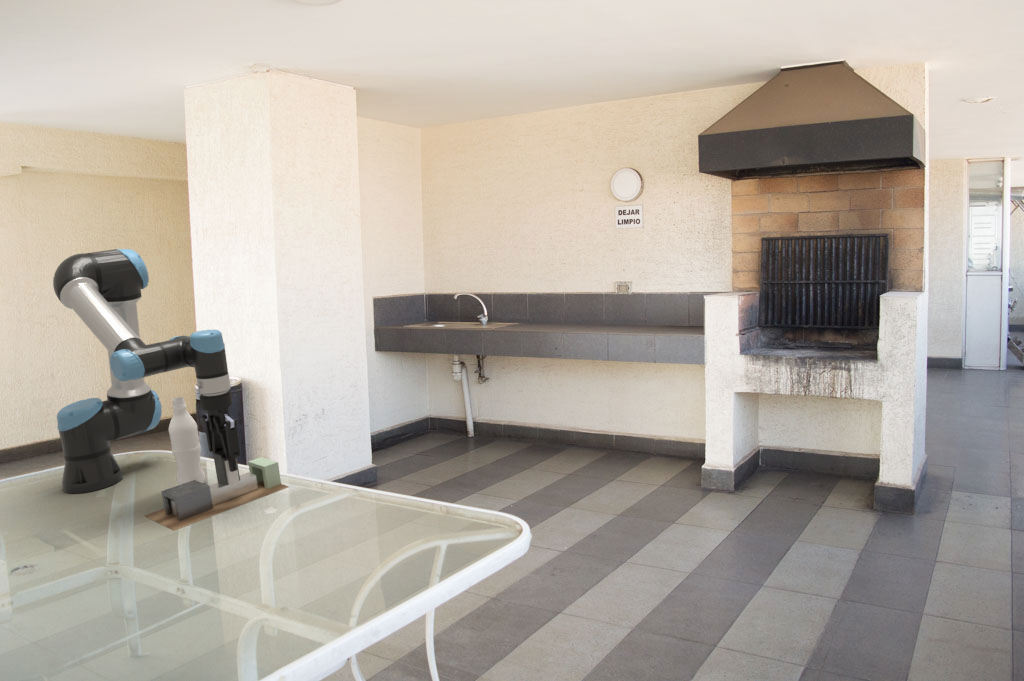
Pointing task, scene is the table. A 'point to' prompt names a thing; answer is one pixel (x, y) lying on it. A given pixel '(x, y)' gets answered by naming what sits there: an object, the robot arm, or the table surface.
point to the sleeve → (188, 499)
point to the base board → (175, 524)
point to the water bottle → (185, 444)
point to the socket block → (265, 471)
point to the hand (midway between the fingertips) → (228, 480)
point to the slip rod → (222, 488)
